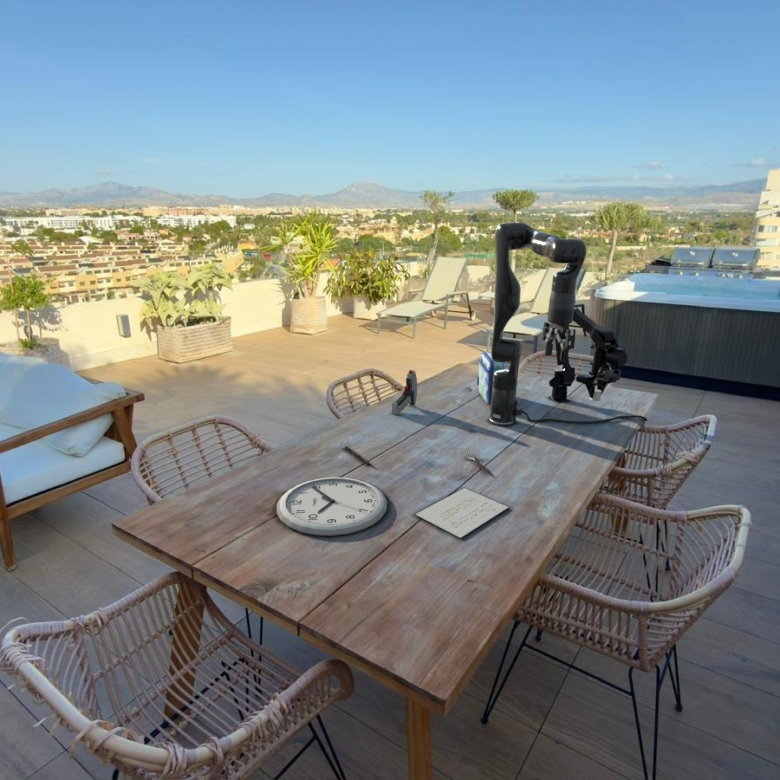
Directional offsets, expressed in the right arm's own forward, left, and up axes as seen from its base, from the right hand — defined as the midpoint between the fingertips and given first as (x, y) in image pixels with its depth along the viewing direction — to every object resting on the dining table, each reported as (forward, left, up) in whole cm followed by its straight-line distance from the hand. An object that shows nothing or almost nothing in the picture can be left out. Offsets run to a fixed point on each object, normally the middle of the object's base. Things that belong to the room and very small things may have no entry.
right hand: (595, 397), depth 217 cm
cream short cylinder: (0, 0, -1) cm, 1 cm away
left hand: (+31, -47, +27) cm, 63 cm away
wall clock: (+39, -122, -7) cm, 128 cm away
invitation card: (+53, -90, -7) cm, 105 cm away
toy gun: (-27, -74, -7) cm, 79 cm away
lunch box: (-29, -32, -7) cm, 43 cm away
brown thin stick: (+11, -107, -7) cm, 107 cm away
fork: (+28, -71, -7) cm, 77 cm away
